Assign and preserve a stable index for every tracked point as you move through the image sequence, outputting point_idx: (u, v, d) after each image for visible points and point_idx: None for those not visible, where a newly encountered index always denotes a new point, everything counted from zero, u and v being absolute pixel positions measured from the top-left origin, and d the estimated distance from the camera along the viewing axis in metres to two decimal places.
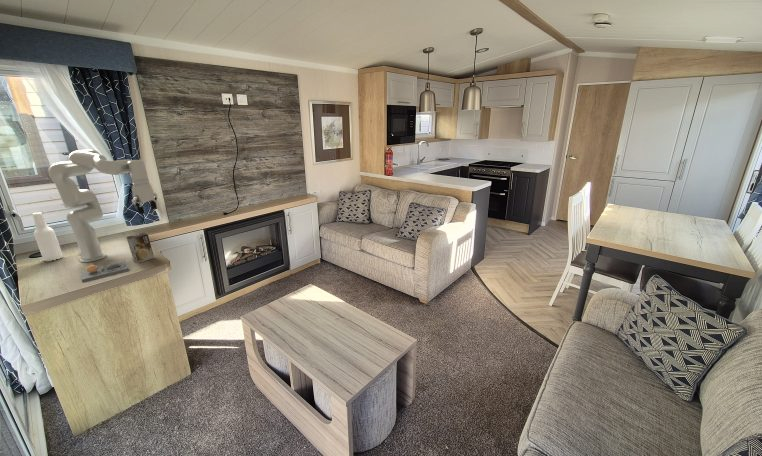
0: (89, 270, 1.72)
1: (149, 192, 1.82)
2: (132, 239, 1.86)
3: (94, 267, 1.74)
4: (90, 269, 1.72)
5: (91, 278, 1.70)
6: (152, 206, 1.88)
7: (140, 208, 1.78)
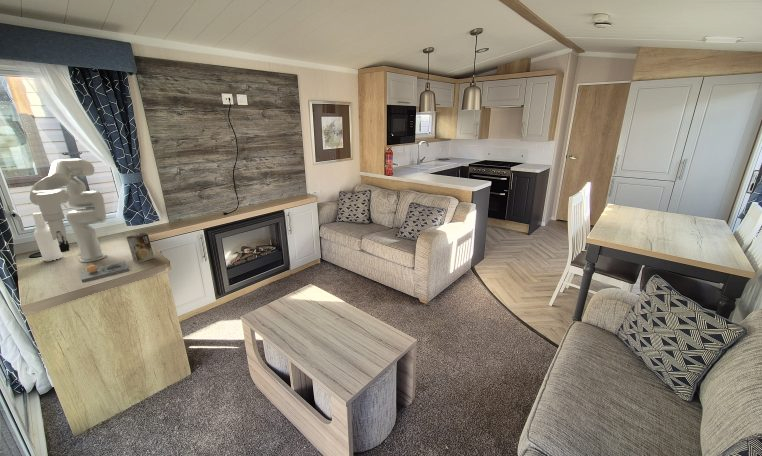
0: (89, 270, 1.72)
1: None
2: (132, 239, 1.86)
3: (94, 267, 1.74)
4: (90, 269, 1.72)
5: (91, 278, 1.70)
6: None
7: (65, 245, 1.62)
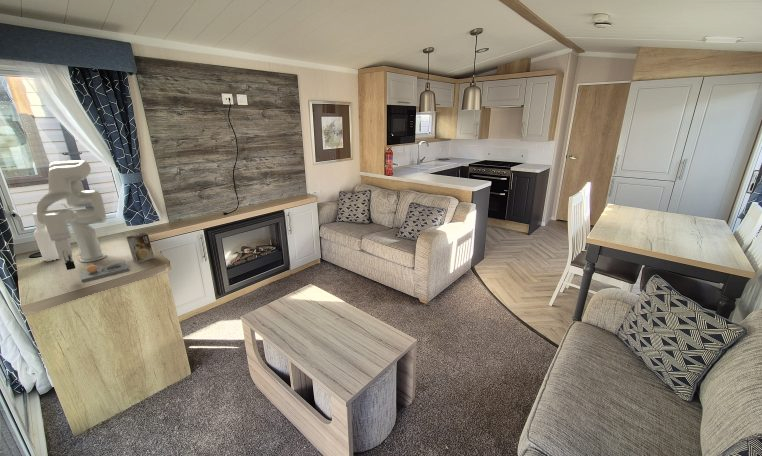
0: (89, 270, 1.72)
1: (70, 245, 1.67)
2: (132, 239, 1.86)
3: (94, 267, 1.74)
4: (90, 269, 1.72)
5: (91, 278, 1.70)
6: None
7: (71, 263, 1.67)
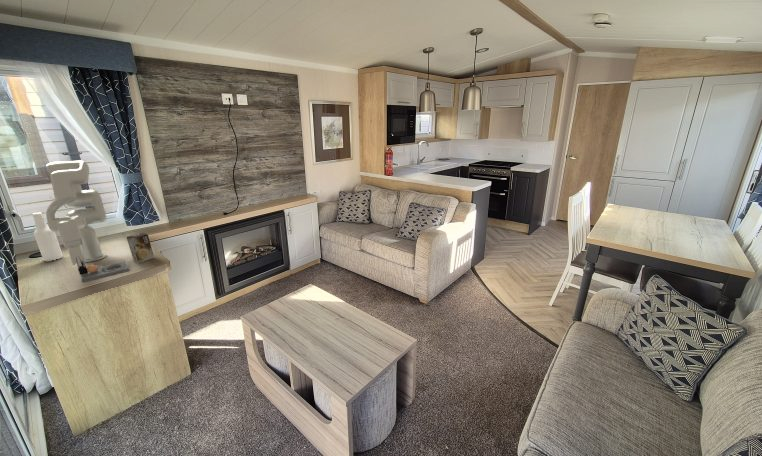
0: (89, 270, 1.72)
1: (83, 251, 1.71)
2: (132, 239, 1.86)
3: (94, 267, 1.74)
4: (90, 269, 1.72)
5: (91, 278, 1.70)
6: None
7: (84, 268, 1.71)
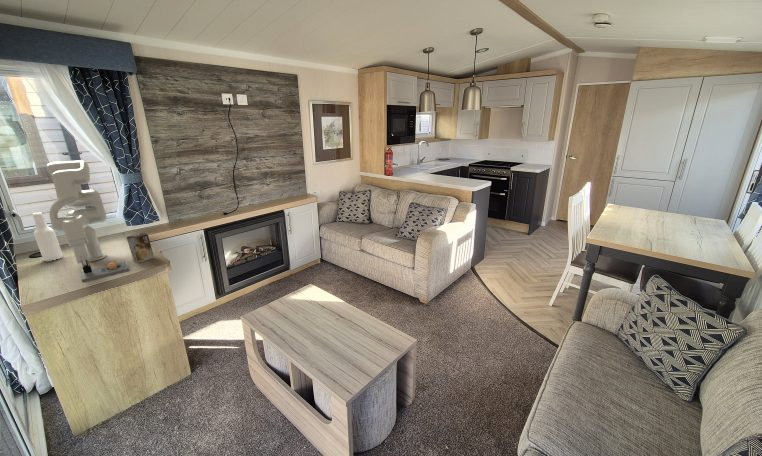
0: (111, 265, 1.79)
1: (87, 250, 1.72)
2: (132, 239, 1.86)
3: (107, 265, 1.79)
4: (110, 265, 1.79)
5: (91, 278, 1.70)
6: None
7: (88, 267, 1.72)
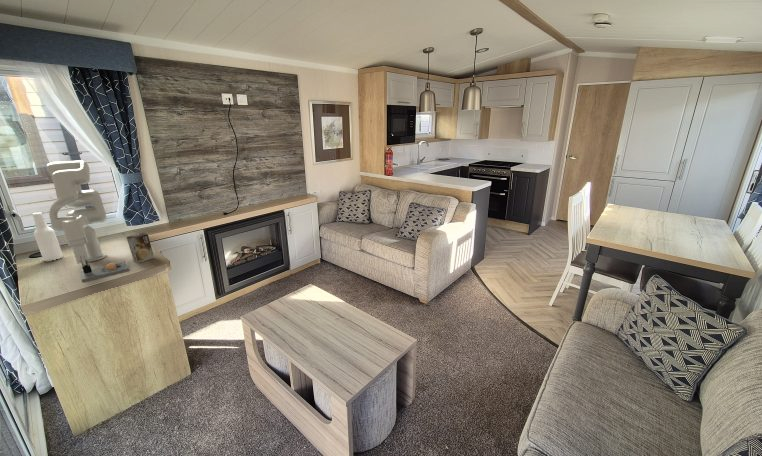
0: (110, 267, 1.78)
1: (87, 250, 1.72)
2: (132, 239, 1.86)
3: (106, 267, 1.78)
4: (109, 267, 1.78)
5: (91, 278, 1.70)
6: None
7: (88, 267, 1.72)
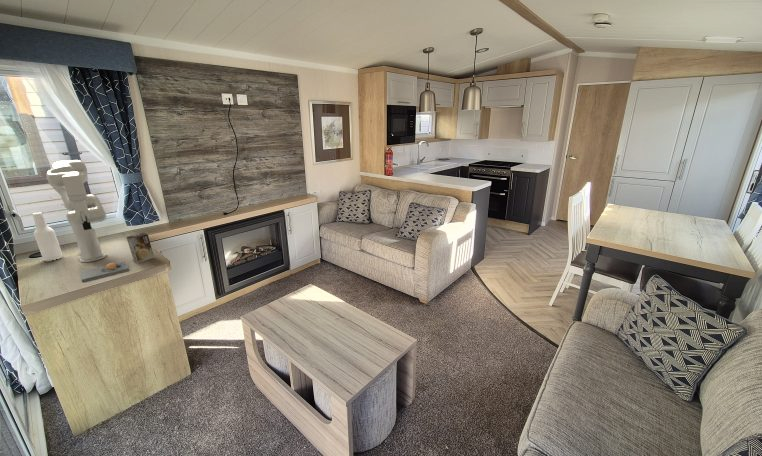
0: (110, 267, 1.78)
1: None
2: (132, 239, 1.86)
3: (106, 267, 1.78)
4: (109, 267, 1.78)
5: (91, 278, 1.70)
6: None
7: (88, 224, 1.75)
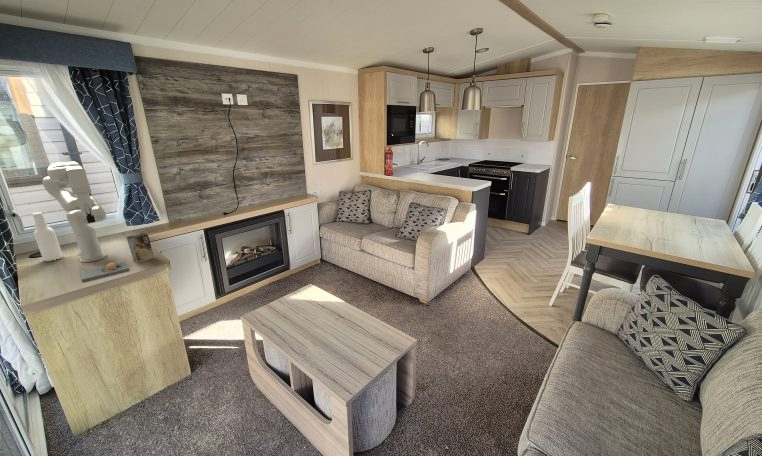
0: (111, 267, 1.78)
1: None
2: (132, 239, 1.86)
3: (106, 266, 1.78)
4: (109, 267, 1.78)
5: (91, 278, 1.70)
6: None
7: (92, 217, 1.77)
